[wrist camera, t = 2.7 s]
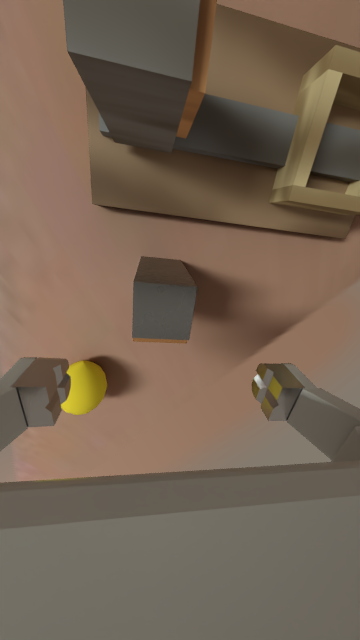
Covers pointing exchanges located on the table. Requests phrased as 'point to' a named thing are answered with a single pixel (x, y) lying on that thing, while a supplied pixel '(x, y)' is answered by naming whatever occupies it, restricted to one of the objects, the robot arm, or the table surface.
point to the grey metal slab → (162, 301)
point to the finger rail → (218, 114)
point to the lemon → (85, 387)
